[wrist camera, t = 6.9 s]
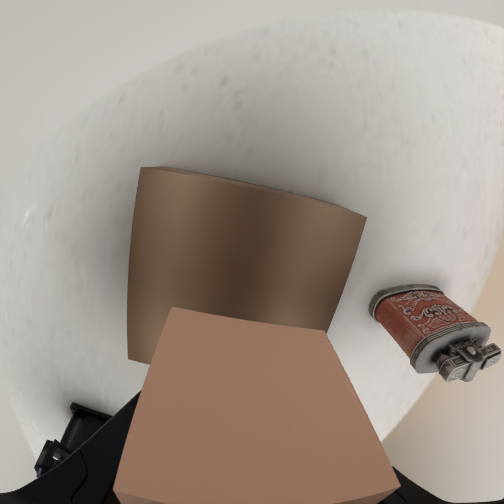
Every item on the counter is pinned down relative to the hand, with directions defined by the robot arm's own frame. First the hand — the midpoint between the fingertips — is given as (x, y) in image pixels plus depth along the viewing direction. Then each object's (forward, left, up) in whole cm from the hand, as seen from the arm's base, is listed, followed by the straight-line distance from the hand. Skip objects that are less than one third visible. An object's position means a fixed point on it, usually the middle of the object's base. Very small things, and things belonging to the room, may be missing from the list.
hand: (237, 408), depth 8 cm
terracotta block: (0, 0, -2) cm, 2 cm away
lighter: (+15, 0, -12) cm, 19 cm away
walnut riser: (0, 0, -12) cm, 12 cm away
